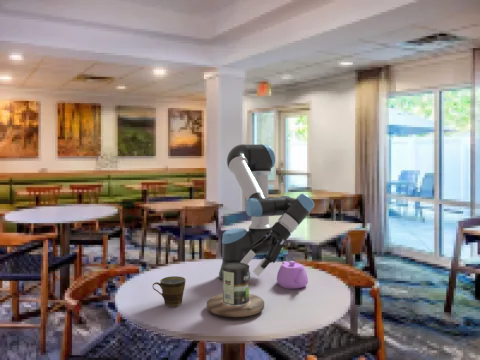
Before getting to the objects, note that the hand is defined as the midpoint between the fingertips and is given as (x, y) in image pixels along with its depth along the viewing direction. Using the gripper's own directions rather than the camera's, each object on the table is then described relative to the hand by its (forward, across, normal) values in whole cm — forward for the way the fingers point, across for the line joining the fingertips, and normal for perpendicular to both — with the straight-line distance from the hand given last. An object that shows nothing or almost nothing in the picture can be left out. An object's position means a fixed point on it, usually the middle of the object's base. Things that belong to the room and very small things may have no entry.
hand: (248, 269), depth 157 cm
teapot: (-9, +19, -32) cm, 38 cm away
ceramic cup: (+31, +15, +9) cm, 36 cm away
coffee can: (+13, +1, -5) cm, 14 cm away
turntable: (+15, +1, -7) cm, 17 cm away
